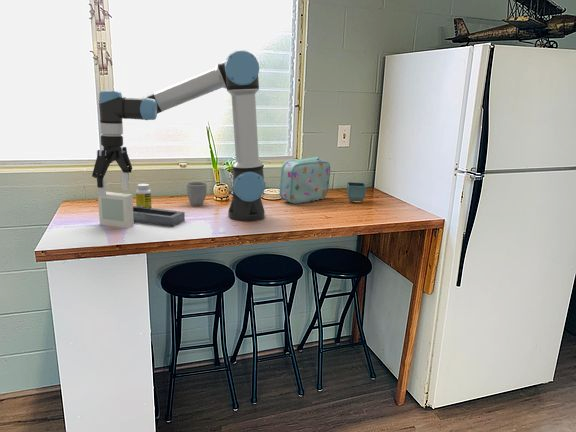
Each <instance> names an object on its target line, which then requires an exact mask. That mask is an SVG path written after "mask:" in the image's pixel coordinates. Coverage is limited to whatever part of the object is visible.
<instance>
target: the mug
mask: <svg viewBox="0 0 576 432" xmlns="http://www.w3.org/2000/svg"><path fill="white" fill-rule="evenodd" d="M207 188H208V185H207V183H206V182H204V181H191V182H189V181H188V182H187V183H186V193H187V198H188V200H189V203H190V205H191V206H193V205H194V206H195V207H199V206H203V205H204V202H205V199H206V195H207Z"/></svg>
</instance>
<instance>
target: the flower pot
mask: <svg viewBox="0 0 576 432" xmlns="http://www.w3.org/2000/svg"><path fill="white" fill-rule="evenodd" d="M367 188H368V186H367V185H366V184H365V182H353V181H351V182H350V181H347V182H346V193H347V198H348V200H349V202H350V201H362V202H363V201H364V200H365V197H366V193H367Z"/></svg>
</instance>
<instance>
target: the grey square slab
mask: <svg viewBox="0 0 576 432" xmlns="http://www.w3.org/2000/svg"><path fill="white" fill-rule="evenodd" d="M97 199H98V202H97V203H98V216H99V225H100V226H101V225H102V226H108V227H116V228H122V229H129V228H131V227H133V226H135V222H134V218H133V206H134V200H133V194H132V193H130V194H129V193H124V192H123V193H120V192H113V191H106V197H102V196H98V195H97Z"/></svg>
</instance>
